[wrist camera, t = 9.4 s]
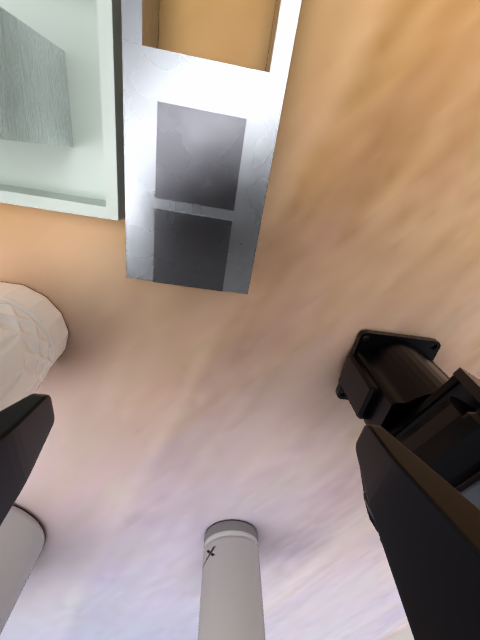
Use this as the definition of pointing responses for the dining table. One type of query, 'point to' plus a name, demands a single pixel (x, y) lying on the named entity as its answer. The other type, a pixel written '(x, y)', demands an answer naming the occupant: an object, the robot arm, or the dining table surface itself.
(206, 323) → the dining table surface
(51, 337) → the white cup
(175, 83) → the rail
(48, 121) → the brushed aluminium bar
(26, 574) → the cylinder vase
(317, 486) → the dining table surface
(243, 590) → the travel mug
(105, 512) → the dining table surface
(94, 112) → the parts tray
